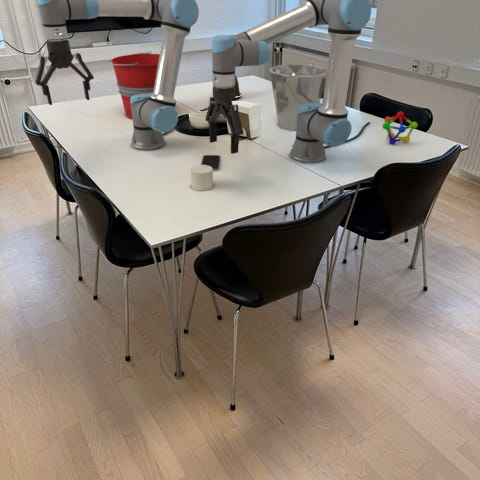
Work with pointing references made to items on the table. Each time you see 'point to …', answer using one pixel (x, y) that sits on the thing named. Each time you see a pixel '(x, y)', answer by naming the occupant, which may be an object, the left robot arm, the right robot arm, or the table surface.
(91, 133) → the table surface
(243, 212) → the table surface
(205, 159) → the smartphone
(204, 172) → the canister
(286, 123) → the bucket
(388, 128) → the educational toy
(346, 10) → the right robot arm
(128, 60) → the bucket
